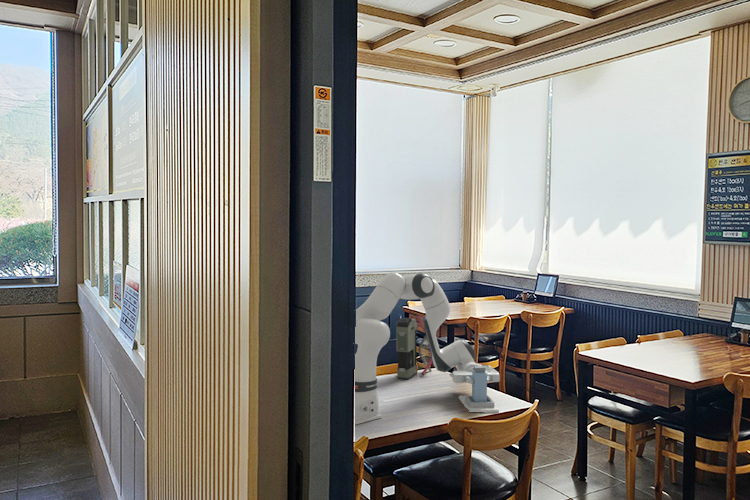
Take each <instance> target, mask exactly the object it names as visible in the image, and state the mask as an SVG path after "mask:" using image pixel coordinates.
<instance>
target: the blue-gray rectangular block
mask: <svg viewBox="0 0 750 500" xmlns="http://www.w3.org/2000/svg"><path fill="white" fill-rule="evenodd" d="M472 378H473V379H474V383H472V384H471V396H472V399H473V400H474V401H475V402H487V396H488V394H487V393H488V383H487V373H486V372H485V367H484V366H474V370H472Z"/></svg>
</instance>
